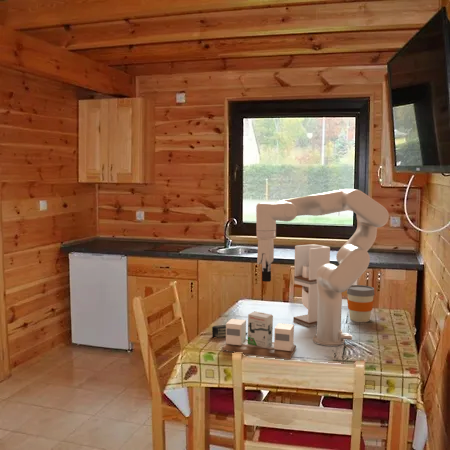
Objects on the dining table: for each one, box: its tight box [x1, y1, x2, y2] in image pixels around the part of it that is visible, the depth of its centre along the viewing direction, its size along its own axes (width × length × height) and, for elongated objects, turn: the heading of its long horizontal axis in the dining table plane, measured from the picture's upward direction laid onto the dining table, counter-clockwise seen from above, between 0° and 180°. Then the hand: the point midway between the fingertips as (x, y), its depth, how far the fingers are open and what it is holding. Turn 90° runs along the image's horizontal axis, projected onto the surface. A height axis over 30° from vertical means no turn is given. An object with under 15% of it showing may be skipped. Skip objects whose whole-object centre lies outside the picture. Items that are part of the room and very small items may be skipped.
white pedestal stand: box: [292, 243, 331, 328], centre depth 237 cm, size 11×11×35 cm
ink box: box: [247, 310, 274, 348], centre depth 200 cm, size 9×5×12 cm, turn 56°
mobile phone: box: [211, 324, 248, 338], centre depth 218 cm, size 5×3×15 cm
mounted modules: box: [225, 318, 295, 351], centre depth 200 cm, size 25×7×8 cm, turn 72°
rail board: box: [222, 338, 297, 360], centre depth 201 cm, size 26×12×2 cm, turn 72°
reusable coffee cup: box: [346, 284, 376, 323], centre depth 244 cm, size 12×13×15 cm
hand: (266, 281), depth 204 cm, fingers closed
